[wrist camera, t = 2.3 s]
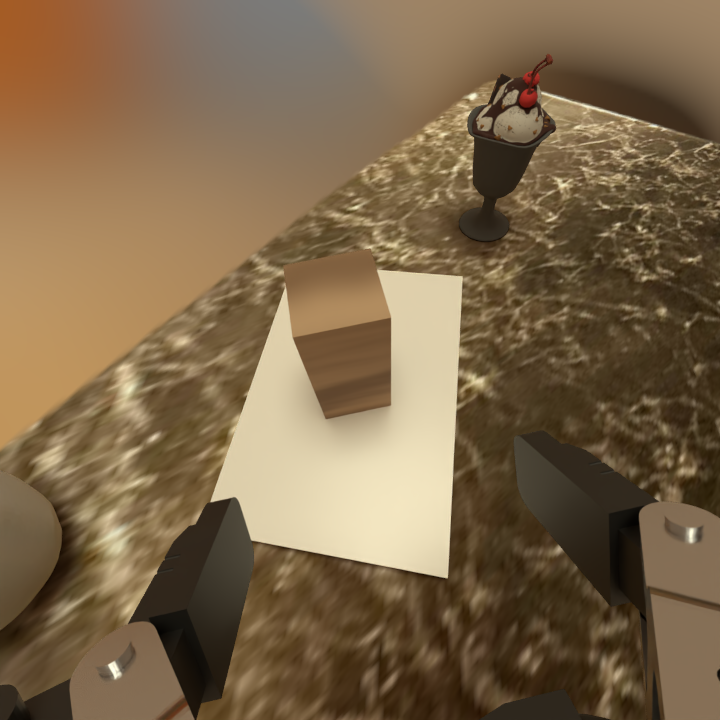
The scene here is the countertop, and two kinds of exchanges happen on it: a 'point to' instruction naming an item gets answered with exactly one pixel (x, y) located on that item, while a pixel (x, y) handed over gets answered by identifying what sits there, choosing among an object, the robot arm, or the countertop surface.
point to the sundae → (504, 147)
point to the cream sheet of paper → (356, 443)
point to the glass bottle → (24, 545)
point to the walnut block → (342, 331)
